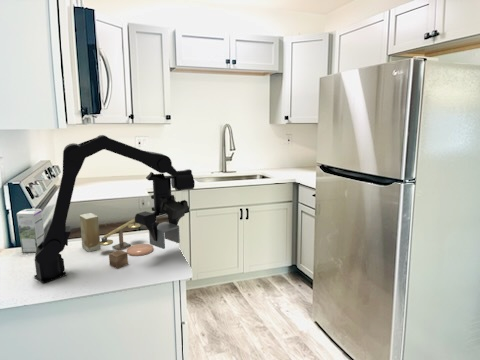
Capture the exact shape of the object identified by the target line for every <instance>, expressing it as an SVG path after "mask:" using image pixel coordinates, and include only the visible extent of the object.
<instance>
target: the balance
mask: <svg viewBox="0 0 480 360" xmlns="http://www.w3.org/2000/svg"><path fill="white" fill-rule="evenodd" d="M141 225H142V224H139V223H136V222H135V218H132V219H130V220H129V221H127V222H125V223H124V224H122V225H120V226H119V227H116V228H115V229H113V230H111V231H110V232H109V233H106V234H105V235H103V237H100V242H99V245H100V247H101V246H102V247H103V246H104V247H105V246H106V247H107V246H110V245H112V244H113V243H114V241H113V240H112V239H108V238H109V237H111V236H112V235H114V234H115V233H116V234H117V232H118V242H119V243H117V244H114V245H112V246H111V247H112V249H113V250H115V251H118V250H122V251H124V250H126V249H127V248H129V247H130V246H132V244H131V243H129V242H126V241H124V232H123V229H124V228H126V227H128V229H138V228H140V227H141Z"/></svg>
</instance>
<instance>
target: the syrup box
mask: <svg viewBox="0 0 480 360" xmlns="http://www.w3.org/2000/svg"><path fill="white" fill-rule="evenodd" d="M43 218H44V217H43V211H42V209H41V208H25V209H22V210H20V211H18V212H17V213H16V220H17V225H18V234H19V240H20V247H21V253H24V254H25V253H36V250H37V247H38V246H39V245H40V244H41V242H42V241H43V239H44V235H45V228H44V227H45V226H44V219H43Z"/></svg>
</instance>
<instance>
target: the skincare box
mask: <svg viewBox="0 0 480 360" xmlns="http://www.w3.org/2000/svg"><path fill="white" fill-rule="evenodd" d="M79 224H80V236H81V247H82V248H83V250H85V251H87V252H89V253H90V252H93V251H97V250H100V249H101V245H99V242H100V241H101V237H100V223H99V216H98V215H96V214H95V213H93V212H89V213H84V214H83V213H82V214H79Z"/></svg>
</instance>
